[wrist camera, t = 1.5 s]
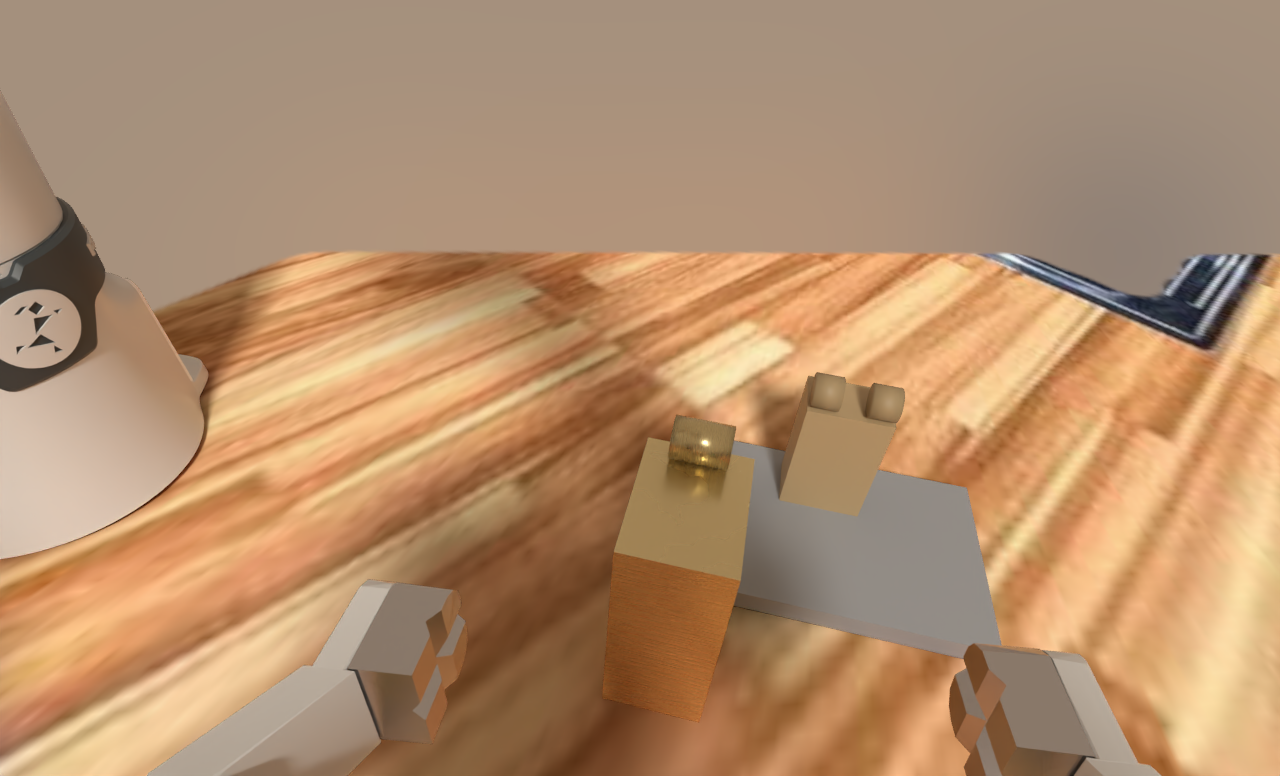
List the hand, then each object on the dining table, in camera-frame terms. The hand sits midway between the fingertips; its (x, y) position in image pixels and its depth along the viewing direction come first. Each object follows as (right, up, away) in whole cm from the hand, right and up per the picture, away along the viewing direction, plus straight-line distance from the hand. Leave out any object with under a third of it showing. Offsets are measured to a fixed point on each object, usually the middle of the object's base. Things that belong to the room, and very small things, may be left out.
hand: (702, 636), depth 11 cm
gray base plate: (+9, -5, +27) cm, 29 cm away
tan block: (0, -9, +22) cm, 23 cm away
